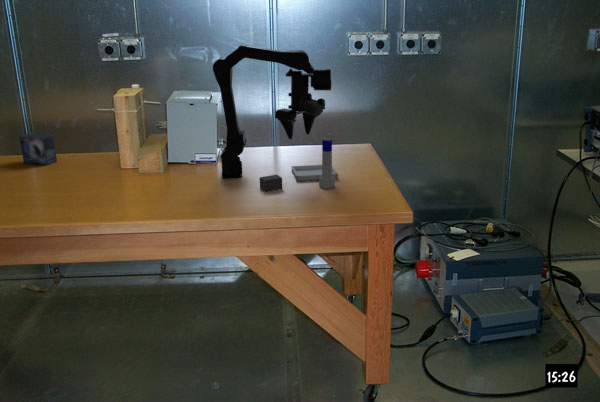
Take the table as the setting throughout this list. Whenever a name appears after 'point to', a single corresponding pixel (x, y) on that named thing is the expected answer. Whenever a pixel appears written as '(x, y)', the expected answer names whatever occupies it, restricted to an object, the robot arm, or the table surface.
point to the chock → (270, 183)
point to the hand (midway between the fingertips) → (299, 136)
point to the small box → (38, 149)
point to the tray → (310, 172)
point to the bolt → (327, 166)
